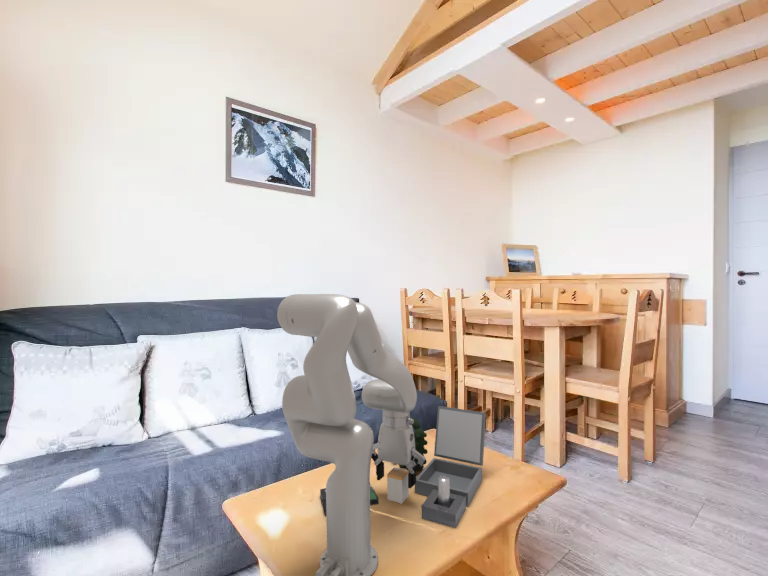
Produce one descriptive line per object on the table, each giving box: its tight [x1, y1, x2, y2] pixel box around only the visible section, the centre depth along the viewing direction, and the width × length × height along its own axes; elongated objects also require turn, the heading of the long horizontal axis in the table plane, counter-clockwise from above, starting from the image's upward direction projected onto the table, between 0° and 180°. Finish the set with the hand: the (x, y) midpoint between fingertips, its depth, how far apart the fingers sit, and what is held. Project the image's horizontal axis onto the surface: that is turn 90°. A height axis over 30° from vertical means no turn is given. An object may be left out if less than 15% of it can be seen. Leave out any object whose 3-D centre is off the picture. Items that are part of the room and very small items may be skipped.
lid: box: [433, 405, 487, 467], centre depth 124 cm, size 16×16×1 cm
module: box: [386, 466, 410, 504], centre depth 109 cm, size 4×4×8 cm
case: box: [414, 457, 483, 508], centre depth 115 cm, size 16×16×4 cm
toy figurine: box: [398, 416, 429, 473], centre depth 132 cm, size 9×19×25 cm
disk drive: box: [319, 483, 379, 517], centre depth 109 cm, size 10×3×15 cm
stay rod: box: [438, 476, 450, 508], centre depth 101 cm, size 3×3×10 cm
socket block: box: [421, 489, 467, 529], centre depth 101 cm, size 9×9×4 cm
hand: (395, 482), depth 108 cm, fingers open, 9 cm apart
